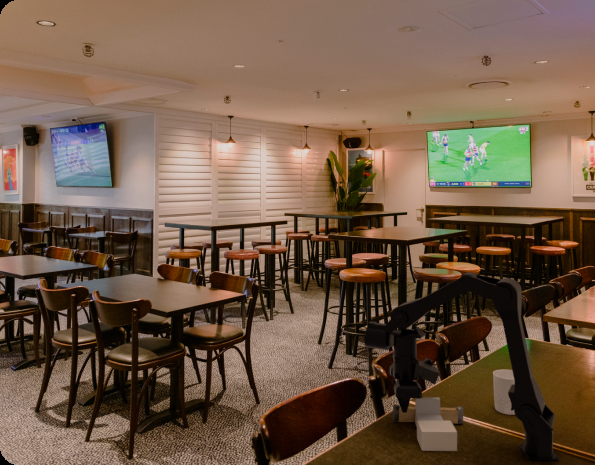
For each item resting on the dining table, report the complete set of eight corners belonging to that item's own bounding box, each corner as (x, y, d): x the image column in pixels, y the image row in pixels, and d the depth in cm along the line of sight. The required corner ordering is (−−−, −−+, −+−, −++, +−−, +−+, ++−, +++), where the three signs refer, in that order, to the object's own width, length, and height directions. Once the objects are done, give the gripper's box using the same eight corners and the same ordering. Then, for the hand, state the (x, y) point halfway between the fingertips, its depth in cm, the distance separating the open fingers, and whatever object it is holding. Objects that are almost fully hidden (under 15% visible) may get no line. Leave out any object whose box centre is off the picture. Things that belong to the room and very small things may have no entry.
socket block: (457, 451, 117) (457, 432, 117) (421, 450, 118) (422, 431, 117) (450, 438, 123) (450, 420, 123) (416, 438, 124) (416, 420, 123)
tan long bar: (462, 420, 132) (462, 406, 132) (463, 423, 130) (463, 409, 130) (392, 418, 134) (392, 404, 134) (393, 421, 132) (393, 407, 132)
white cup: (498, 401, 145) (498, 367, 144) (527, 408, 140) (528, 373, 139) (488, 411, 139) (488, 375, 138) (518, 418, 134) (519, 381, 133)
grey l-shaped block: (445, 436, 124) (445, 408, 123) (420, 436, 124) (420, 408, 123) (438, 424, 131) (439, 397, 130) (415, 423, 131) (415, 397, 130)
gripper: (444, 365, 120) (443, 429, 121) (431, 343, 139) (430, 399, 140) (396, 363, 121) (395, 427, 122) (389, 342, 140) (389, 398, 141)
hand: (404, 412), depth 131 cm, fingers closed
